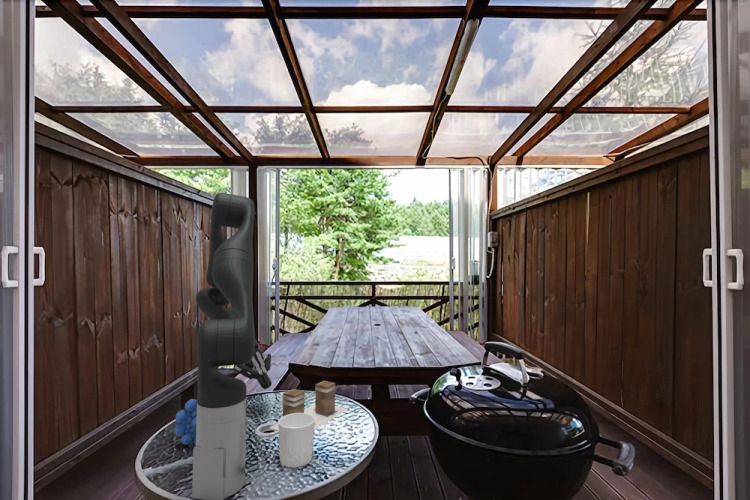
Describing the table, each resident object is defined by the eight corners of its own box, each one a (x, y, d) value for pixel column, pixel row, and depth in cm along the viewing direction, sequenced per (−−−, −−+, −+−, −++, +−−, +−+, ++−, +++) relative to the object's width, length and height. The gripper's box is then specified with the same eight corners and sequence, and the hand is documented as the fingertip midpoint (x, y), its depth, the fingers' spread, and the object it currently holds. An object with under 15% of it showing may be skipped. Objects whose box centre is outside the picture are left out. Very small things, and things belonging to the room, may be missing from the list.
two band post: (282, 423, 99) (282, 393, 100) (292, 417, 103) (293, 388, 103) (293, 426, 97) (294, 396, 98) (304, 420, 101) (304, 391, 101)
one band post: (314, 412, 107) (315, 384, 107) (323, 407, 110) (324, 380, 111) (326, 415, 105) (326, 387, 105) (335, 410, 108) (335, 382, 108)
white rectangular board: (268, 433, 97) (268, 427, 97) (318, 406, 115) (319, 401, 115) (301, 444, 92) (301, 437, 92) (348, 414, 110) (348, 408, 110)
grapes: (228, 436, 96) (229, 389, 96) (219, 449, 89) (220, 398, 89) (181, 437, 95) (182, 390, 95) (169, 451, 88) (170, 399, 88)
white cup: (318, 457, 86) (318, 413, 86) (308, 477, 78) (309, 428, 78) (284, 455, 87) (285, 411, 87) (272, 474, 79) (273, 426, 79)
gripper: (226, 334, 105) (257, 386, 98) (262, 327, 116) (291, 373, 110) (214, 351, 107) (242, 402, 101) (250, 342, 118) (278, 388, 112)
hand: (268, 387), depth 105 cm, fingers closed
